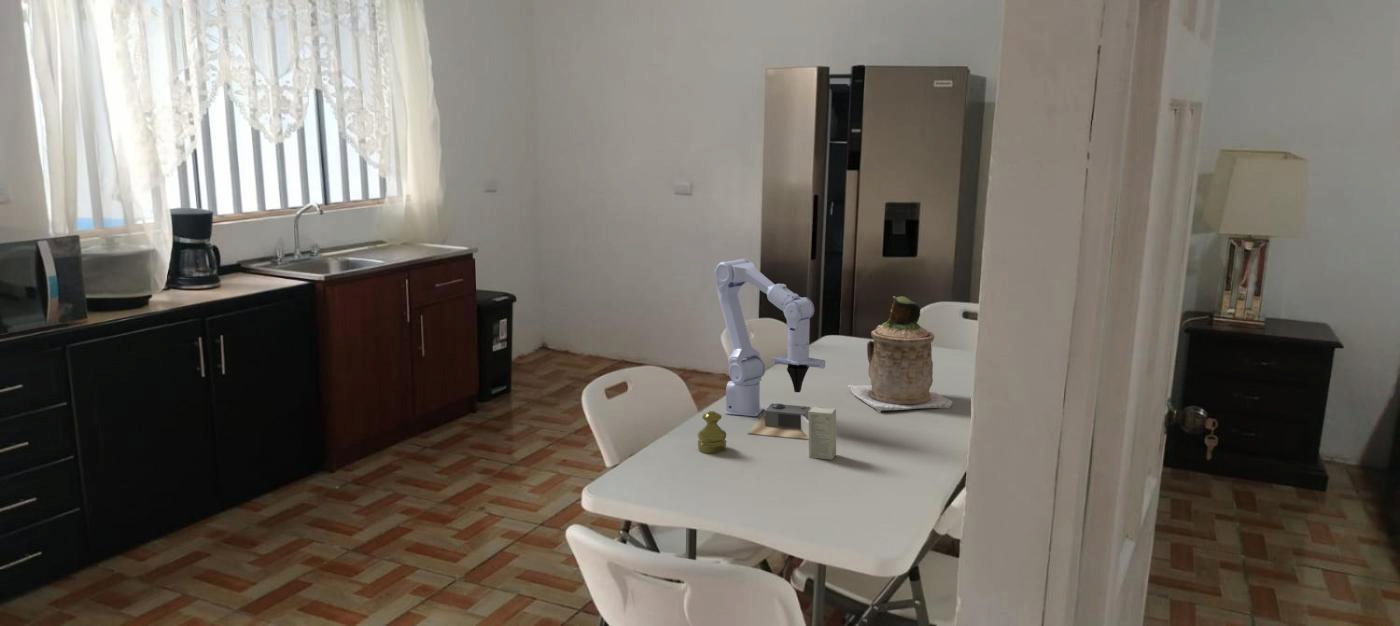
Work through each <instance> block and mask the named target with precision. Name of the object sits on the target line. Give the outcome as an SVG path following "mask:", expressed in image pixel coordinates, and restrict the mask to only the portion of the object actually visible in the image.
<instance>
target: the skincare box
mask: <svg viewBox="0 0 1400 626" xmlns="http://www.w3.org/2000/svg"><path fill="white" fill-rule="evenodd" d="M808 422H809V440H808V457H809V458H812V459H822V460H830V461H831V460H833V459H834V458H835V456H836V455H837V409H836V408H834V407H833V408H832V407H831V408H830V407H822V406H821V407H820V406H812V407H810V410H809V411H808Z"/></svg>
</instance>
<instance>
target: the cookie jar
mask: <svg viewBox="0 0 1400 626" xmlns="http://www.w3.org/2000/svg"><path fill="white" fill-rule="evenodd" d="M892 299H893V302H892V305H891V309H890V314H889V318H888V320H887V321H886V322H883V323H882V324H878V325H877V326H876V328H875V329H873V330H872V331H871V333H870V334H871V337H872V339H873V340H868V341H867V344H866V345H867V346H866V351H867V352H866V354H867V360H868V362H869V364H868V371H867V372H868V376H869V378H870V384H869V385H868V384H867V385H866V384H865V385H860V384H859V385H857V384H848V385H847V386H848V387H849V389H850V391H851V393H852V394H853V396H854V397H857V398H858V399H859V400H860V401H862V402H864V403H865V404H866V405H868V406H869V407H871V408H873V410H876V411H877V412H878V414H881V413H882V412H883V411H902V410H903V411H904V410H915V409H950V408H951V406H952V404H953V400H950V399H948V398H947V397H945V396H942V395H940V394H939V393H937V392H936V391H935V392H934V391H932V390H930V389H931V387H932V385H933V382H934V381H933V380H934V377H933V373H934V372H933V371H934V368H933V366H934V362H933V359H932V358H933V355H932V352H933V351H932V350H933V349H932V348H933V347H932V343H933V341H934V339H935V334H934V332H932V331H928V330H927V329H926V328H925V327H922V326H921V325H920V324H919V323H918V322H919V319H920V317H921V308H920V307H921V306H920V305H918V304H917V303H916V302H915V301H912V300H911V299H910V298H908V297H906V296H903V295H900V296H897V297H896V296H895V295H893V296H892Z"/></svg>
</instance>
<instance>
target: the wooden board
mask: <svg viewBox="0 0 1400 626" xmlns="http://www.w3.org/2000/svg"><path fill="white" fill-rule="evenodd" d="M747 435H752V436H753V435H754V436H764V437H772V436H773V437H774V438H775V437H776V438H784V439H794V440H795V439H796V440H803V441H805V440H806V441H809V438H808V436H807V435H806V434H805V433H804V432H803V431H802V430H801V429H790V428H779V427H769V426H765V415H762V416H761V418H760V419H758V421H757V422H756V423H755V424H754V425H753V426H752V428H751V429H750V430H749V431H748V432H747Z"/></svg>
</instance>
